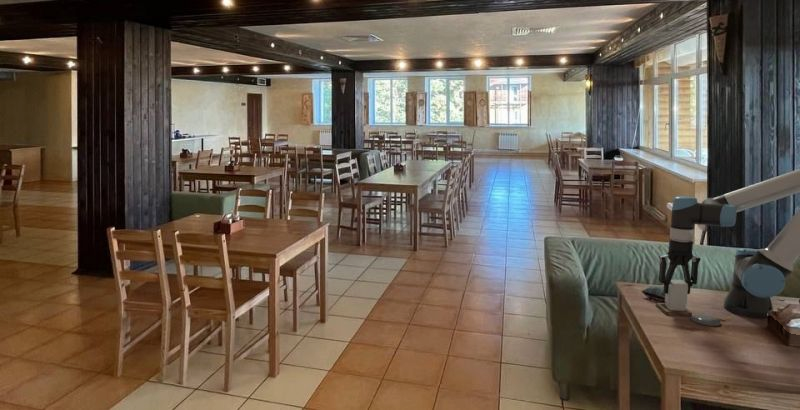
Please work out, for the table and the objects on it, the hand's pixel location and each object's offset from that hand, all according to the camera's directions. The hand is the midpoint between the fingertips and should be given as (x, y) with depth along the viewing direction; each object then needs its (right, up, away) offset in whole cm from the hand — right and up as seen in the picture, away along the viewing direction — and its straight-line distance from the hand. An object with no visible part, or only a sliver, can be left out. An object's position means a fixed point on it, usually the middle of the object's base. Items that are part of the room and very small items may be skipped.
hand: (675, 301), depth 193 cm
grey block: (0, -2, 0) cm, 2 cm away
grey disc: (+6, -5, -9) cm, 12 cm away
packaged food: (+1, -2, +14) cm, 14 cm away
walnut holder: (0, -3, +1) cm, 3 cm away
